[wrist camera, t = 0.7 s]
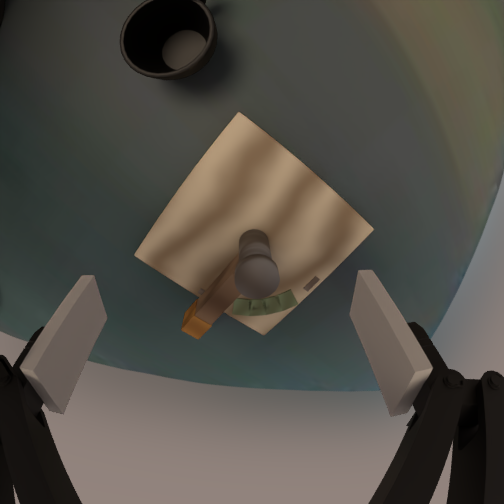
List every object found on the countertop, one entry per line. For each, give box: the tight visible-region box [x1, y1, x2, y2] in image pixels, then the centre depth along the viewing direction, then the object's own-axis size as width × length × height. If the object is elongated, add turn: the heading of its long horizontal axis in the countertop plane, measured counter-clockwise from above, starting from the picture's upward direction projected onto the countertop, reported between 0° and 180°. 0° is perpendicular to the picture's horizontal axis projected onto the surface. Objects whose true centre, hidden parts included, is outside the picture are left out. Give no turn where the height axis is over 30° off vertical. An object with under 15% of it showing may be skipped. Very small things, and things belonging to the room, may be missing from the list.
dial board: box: [134, 112, 374, 335], centre depth 38 cm, size 22×22×1 cm
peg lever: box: [181, 229, 280, 339], centre depth 36 cm, size 15×4×8 cm, turn 141°
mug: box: [120, 0, 217, 80], centre depth 23 cm, size 8×12×10 cm
